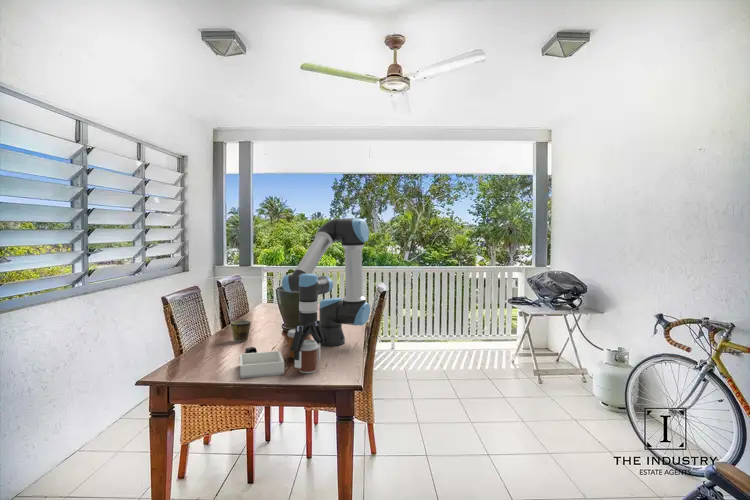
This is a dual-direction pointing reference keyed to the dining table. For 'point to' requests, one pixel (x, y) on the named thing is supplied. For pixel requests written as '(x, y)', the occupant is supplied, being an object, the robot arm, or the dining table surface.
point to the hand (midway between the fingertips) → (307, 362)
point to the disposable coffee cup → (291, 340)
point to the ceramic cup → (240, 330)
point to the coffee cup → (308, 356)
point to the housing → (261, 364)
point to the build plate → (251, 350)
